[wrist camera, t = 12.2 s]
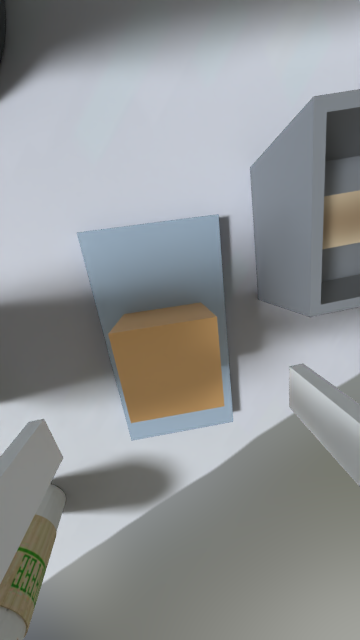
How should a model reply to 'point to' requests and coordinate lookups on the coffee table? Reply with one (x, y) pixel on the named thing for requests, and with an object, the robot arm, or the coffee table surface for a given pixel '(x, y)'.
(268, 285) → the tub
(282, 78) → the coffee table surface
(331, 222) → the pale wood block
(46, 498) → the coffee cup
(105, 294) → the lid
